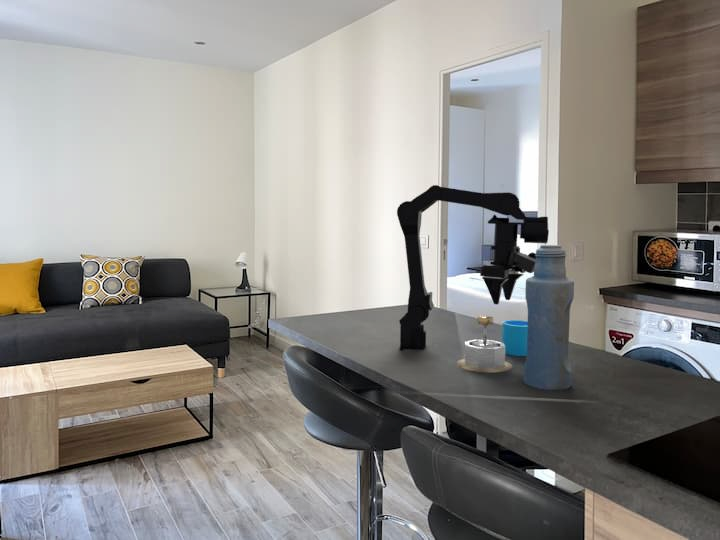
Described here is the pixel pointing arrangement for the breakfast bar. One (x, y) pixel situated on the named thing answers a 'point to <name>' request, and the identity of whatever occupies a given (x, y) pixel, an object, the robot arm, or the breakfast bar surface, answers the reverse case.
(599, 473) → the breakfast bar surface
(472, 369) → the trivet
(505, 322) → the mug
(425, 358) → the breakfast bar surface
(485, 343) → the plunger
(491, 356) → the grey piece
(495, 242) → the robot arm
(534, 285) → the bottle
